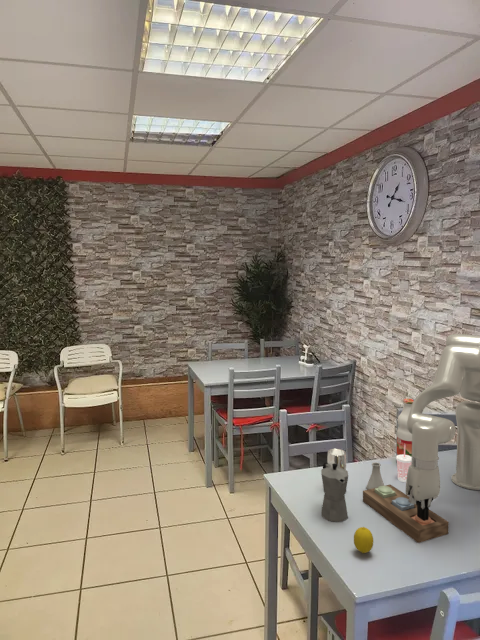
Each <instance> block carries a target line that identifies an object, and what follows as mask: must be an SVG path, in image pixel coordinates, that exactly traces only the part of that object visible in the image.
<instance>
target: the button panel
mask: <svg viewBox="0 0 480 640" xmlns="http://www.w3.org/2000/svg"><path fill="white" fill-rule="evenodd" d="M384 485H385V484H384ZM385 486H388V487H390V488H391V489H392V490H393V491H395V492H396V496H392V497H388V498H382V497H381V496H379V495H378V494H376V493H375V488H373V489H368V490H367V489H365V490H362V502H363V503H364V504H365V505H367V506H369V508H370V509H372V510H373V511H375V512H376V513H377V514H379V515H380V516H381V517H383V519H385V520H387V521H388V522H389V523H391V524H392V525H394V526H395V527H396V528H397V529H399V530H400V531H401V532H403V533H404V534H405V535H406V536H408V537H409V538H410V539H412V540H413V541H414V542H416V543H417V544H420V543H423V542H426V541H430V540H433V539H436V538H440V537H443V536H446V535H449V528H450V526H449V525H450V522H449V521H448V520H447V519H445V518H444V517H442V516H440V515H439V514H437V513H435V512H434V511H432V510H431V509H429V517H430V518H431V519H432V520H433V521H435V522H434V523H430V524H427V525H423V526H422V525H421V524H419V523H418V522H417V521H415V520H414V519H412V518H411V517H414V516H415V515H417V505H416V504H414V508H413V509H409V510H405V511H401V510H399V509H398V508H396V507H395V506H394V505H392V500H396V498H399V497H403V498H407V499H409V496H410V495H406V493H404V492H403V491H401V490H400V489H398V488H396V487H395V486H393V484H386V485H385ZM377 488H378V487H377Z"/></svg>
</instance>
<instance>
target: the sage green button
mask: <svg viewBox="0 0 480 640" xmlns="http://www.w3.org/2000/svg"><path fill="white" fill-rule="evenodd" d="M375 493H376V494H378V495H379V496H381V497H382V498H388V497H392V496H396V492H395V491H393V490H392V489H391V488H390V487H388V486H379V487H378V488H375Z"/></svg>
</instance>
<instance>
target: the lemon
mask: <svg viewBox="0 0 480 640" xmlns="http://www.w3.org/2000/svg"><path fill="white" fill-rule="evenodd" d="M353 544H354V547H355V548H356V550H357V551H359V552H360V553H361V554H366V553H369V552H371V551H372V549H373V547H374V536H373V533H372V532H371V530H370V529H369V528H367V527H365V526H362V527H361V526H360V527H358V528H356V530H355V532H354V534H353Z"/></svg>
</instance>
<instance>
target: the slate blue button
mask: <svg viewBox="0 0 480 640" xmlns="http://www.w3.org/2000/svg"><path fill="white" fill-rule="evenodd" d="M408 500H409V499H407V498H403V497H399V498H396V500H392V505H394V506H395V507H396V508H398V509H399V510H401V511H405V510H409V509H413V508H414V504H411V503H410V502H408Z"/></svg>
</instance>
